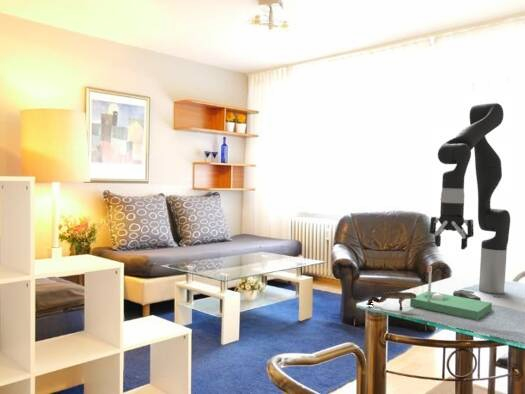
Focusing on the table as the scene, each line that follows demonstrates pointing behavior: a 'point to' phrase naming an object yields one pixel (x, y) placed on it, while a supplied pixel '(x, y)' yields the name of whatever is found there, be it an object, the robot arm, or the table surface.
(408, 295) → the toy
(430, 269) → the pin
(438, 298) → the ball
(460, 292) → the rock
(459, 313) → the green
